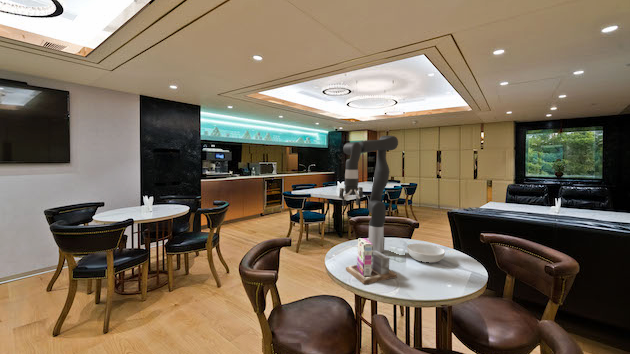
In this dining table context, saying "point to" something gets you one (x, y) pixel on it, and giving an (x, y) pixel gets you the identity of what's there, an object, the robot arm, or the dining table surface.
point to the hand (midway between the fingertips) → (350, 205)
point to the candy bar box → (365, 256)
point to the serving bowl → (425, 252)
